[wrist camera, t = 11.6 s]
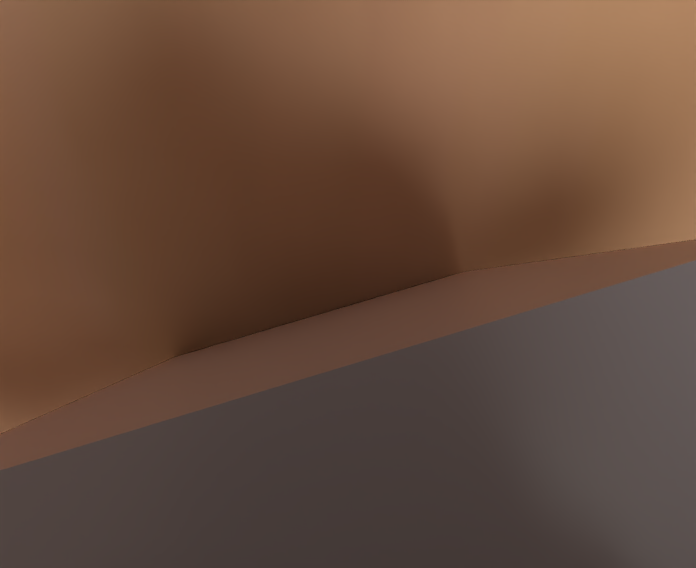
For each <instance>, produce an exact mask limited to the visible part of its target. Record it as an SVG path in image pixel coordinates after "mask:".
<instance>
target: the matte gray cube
mask: <svg viewBox="0 0 696 568" xmlns="http://www.w3.org/2000/svg"><path fill="white" fill-rule="evenodd" d="M0 568H696V240H689V241H682V242H674V243H667V244H660V245H653V246H646V247H638V248H631V249H624V250H617V251H610V252H602V253H595V254H588V255H581V256H574V257H566V258H559V259H552V260H545V261H537V262H530V263H523V264H516V265H509V266H501V267H494V268H487V269H480V270H473V271H465V272H461V273H458V274H454V275H451V276H448V277H444V278H441V279H438V280H434V281H431V282H427V283H424V284H421V285H417V286H414V287H410V288H407V289H404V290H400V291H397V292H394V293H390V294H387V295H383V296H380V297H377V298H373V299H370V300H366V301H363V302H360V303H356V304H353V305H349V306H346V307H343V308H339V309H336V310H333V311H329V312H326V313H322V314H319V315H316V316H312V317H309V318H305V319H302V320H299V321H295V322H292V323H289V324H285V325H282V326H278V327H275V328H272V329H268V330H265V331H261V332H258V333H255V334H251V335H248V336H244V337H241V338H238V339H234V340H231V341H228V342H224V343H221V344H217V345H214V346H211V347H207V348H204V349H200V350H197V351H194V352H190V353H187V354H183V355H180V356H177V357H174V358H171V359H169V360H167V361H165V362H162V363H160V364H158V365H156V366H153V367H151V368H149V369H147V370H144V371H142V372H140V373H138V374H135V375H133V376H131V377H128V378H126V379H124V380H122V381H119V382H117V383H115V384H113V385H110V386H108V387H106V388H104V389H101V390H99V391H97V392H94V393H92V394H90V395H88V396H85V397H83V398H81V399H79V400H76V401H74V402H72V403H70V404H67V405H65V406H63V407H60V408H58V409H56V410H54V411H51V412H49V413H47V414H45V415H42V416H40V417H38V418H36V419H33V420H31V421H29V422H26V423H24V424H22V425H20V426H17V427H15V428H13V429H11V430H8V431H6V432H4V433H2V434H0Z"/></svg>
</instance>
